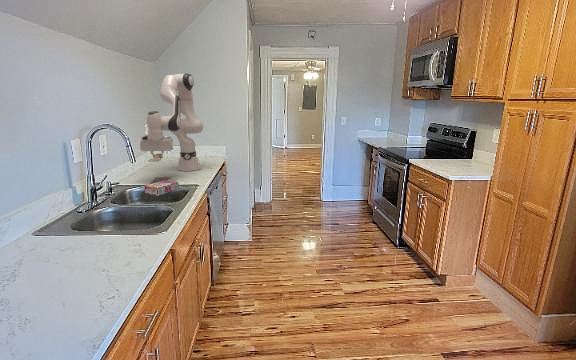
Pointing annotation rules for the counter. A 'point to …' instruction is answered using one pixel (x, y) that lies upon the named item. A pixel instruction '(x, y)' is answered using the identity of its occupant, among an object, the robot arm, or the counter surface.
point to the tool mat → (159, 179)
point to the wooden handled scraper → (155, 158)
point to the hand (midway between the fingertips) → (157, 157)
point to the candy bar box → (161, 187)
